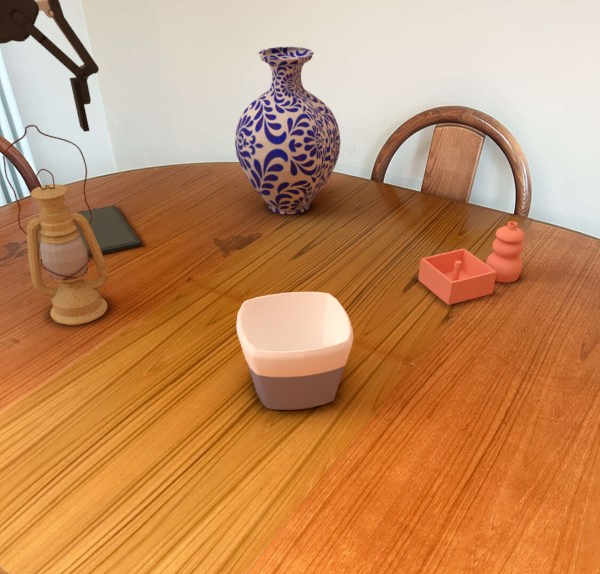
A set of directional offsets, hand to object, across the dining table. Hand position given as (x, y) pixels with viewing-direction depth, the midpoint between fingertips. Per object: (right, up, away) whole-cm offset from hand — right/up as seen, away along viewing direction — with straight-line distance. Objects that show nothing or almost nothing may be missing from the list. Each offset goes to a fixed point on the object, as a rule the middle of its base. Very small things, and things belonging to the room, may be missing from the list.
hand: (36, 136), depth 92 cm
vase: (+35, +5, +51) cm, 61 cm away
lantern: (0, -22, +18) cm, 29 cm away
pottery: (+68, -16, +25) cm, 74 cm away
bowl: (+36, -35, +2) cm, 51 cm away
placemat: (-6, -4, +40) cm, 41 cm away
